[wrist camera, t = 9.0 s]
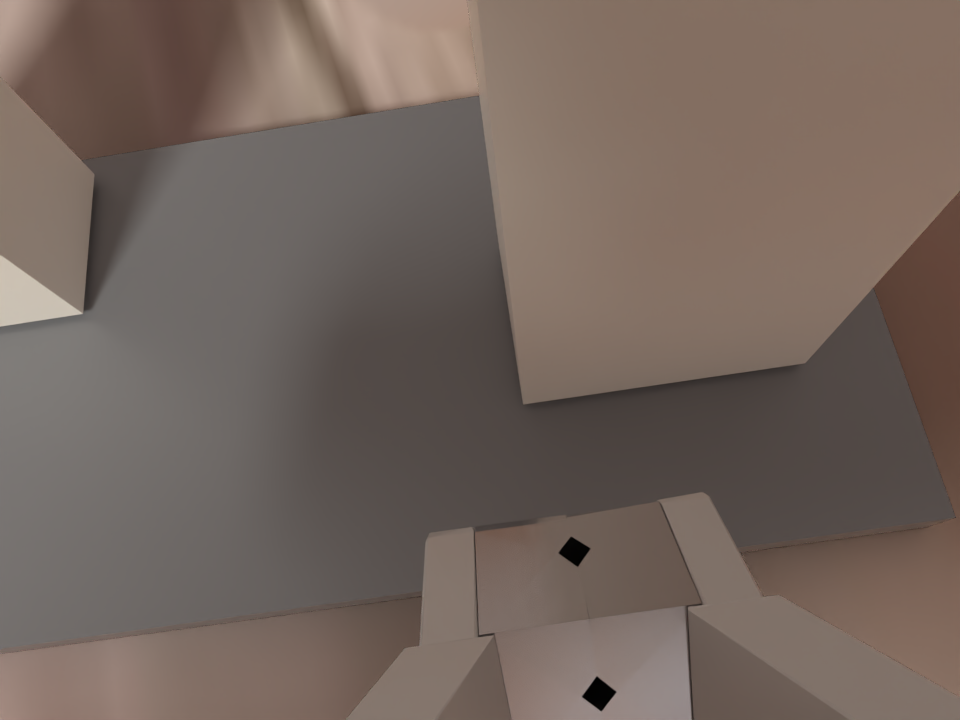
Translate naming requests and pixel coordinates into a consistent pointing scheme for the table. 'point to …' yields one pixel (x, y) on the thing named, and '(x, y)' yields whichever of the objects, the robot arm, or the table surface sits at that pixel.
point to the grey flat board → (368, 396)
